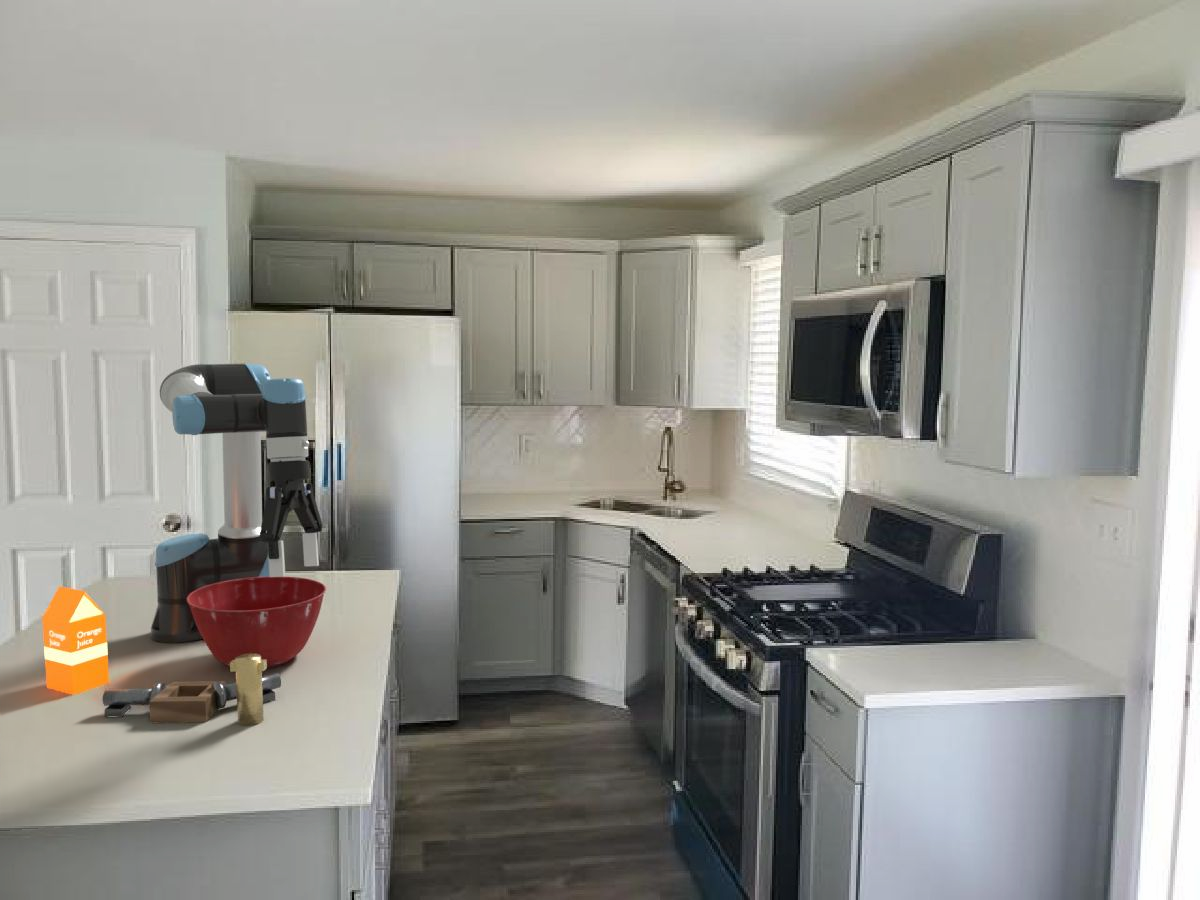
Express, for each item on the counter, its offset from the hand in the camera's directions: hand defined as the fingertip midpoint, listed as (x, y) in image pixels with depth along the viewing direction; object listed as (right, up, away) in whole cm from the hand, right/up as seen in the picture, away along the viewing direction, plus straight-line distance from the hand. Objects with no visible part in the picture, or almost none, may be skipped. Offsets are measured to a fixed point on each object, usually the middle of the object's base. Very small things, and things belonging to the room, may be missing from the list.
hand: (295, 571), depth 174 cm
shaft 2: (-10, -25, +2) cm, 27 cm away
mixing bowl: (-16, -23, +26) cm, 39 cm away
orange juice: (-48, -25, +11) cm, 55 cm away
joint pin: (-6, -26, -7) cm, 28 cm away
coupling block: (-19, -26, -3) cm, 32 cm away
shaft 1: (-29, -26, -3) cm, 39 cm away
